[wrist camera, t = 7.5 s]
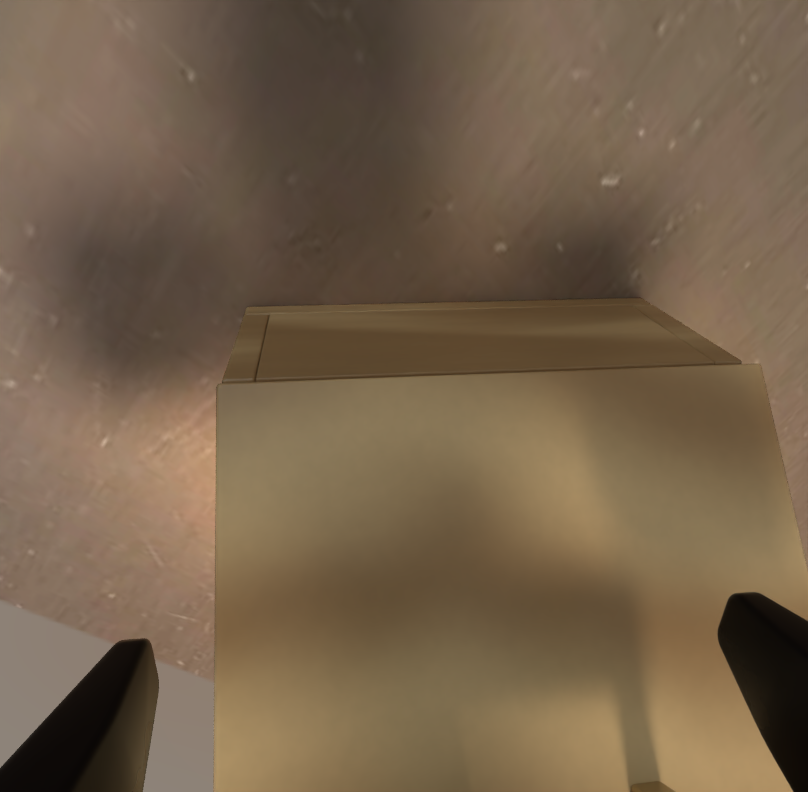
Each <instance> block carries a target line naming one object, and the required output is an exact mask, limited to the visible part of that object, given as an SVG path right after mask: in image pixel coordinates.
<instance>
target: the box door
mask: <svg viewBox="0 0 808 792" xmlns="http://www.w3.org/2000/svg"><path fill="white" fill-rule="evenodd" d="M744 592H758V593H760V594H762V595H764V596H766V597H768V598H769V599H771V600H773V601H774V602H776V603H778V604H780V605H781V606H783V607H785V608H786V609H788V610H790V611H792V612H793V613H795V614H797V615H799V616H800V617H802V618H804V619H805V620H807V621H808V569H807V565H806V560H805V556H804V551H803V547H802V543H801V538H800V534H799V530H798V525H797V521H796V516H795V512H794V508H793V503H792V499H791V495H790V490H789V486H788V481H787V477H786V473H785V468H784V464H783V460H782V455H781V451H780V446H779V442H778V438H777V433H776V429H775V425H774V420H773V416H772V411H771V407H770V403H769V398H768V394H767V390H766V385H765V381H764V376H763V372H762V368H761V365H760V364H734V365H707V366H680V367H653V368H626V369H599V370H572V371H545V372H518V373H491V374H464V375H437V376H411V377H384V378H357V379H330V380H303V381H276V382H249V383H222V384H218V385H217V394H216V522H215V651H214V780H213V783H214V784H213V785H214V786H213V789H214V790H213V792H793V791H792V789H791V787H790V785H789V784H788V782H787V780H786V778H785V777H784V775H783V773H782V771H781V770H780V768H779V766H778V764H777V763H776V761H775V759H774V758H773V756H772V754H771V752H770V750H769V748H768V747H767V745H766V743H765V741H764V739H763V737H762V735H761V733H760V731H759V729H758V727H757V725H756V723H755V721H754V719H753V717H752V715H751V712H750V710H749V708H748V706H747V704H746V702H745V699H744V697H743V695H742V693H741V691H740V689H739V686H738V684H737V682H736V680H735V678H734V676H733V673H732V671H731V669H730V667H729V665H728V663H727V660H726V658H725V656H724V654H723V652H722V650H721V647H720V645H719V641H718V635H717V632H718V627H719V624H720V621H721V618H722V615H723V612H724V609H725V606H726V603H727V600H728V598H729V597H730V596H731V595H732V594H734V593H744Z"/></svg>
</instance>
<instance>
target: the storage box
mask: <svg viewBox="0 0 808 792" xmlns="http://www.w3.org/2000/svg"><path fill="white" fill-rule="evenodd" d="M734 364H741V360H739V359H738V358H736V357H734V356H733V355H731V354H730V353H728V352H727V351H725V350H723V349H722V348H720V347H719V346H717V345H715V344H714V343H712V342H711V341H709V340H708V339H706V338H704V337H703V336H701V335H700V334H698V333H696V332H695V331H693V330H692V329H690V328H689V327H687V326H685V325H684V324H682V323H681V322H679V321H677V320H676V319H674V318H673V317H671V316H669V315H668V314H666V313H665V312H663V311H662V310H660V309H658V308H657V307H655V306H654V305H651V304H650V303H648V302H647V301H645V300H644V299H642V298H615V299H571V300H527V301H484V302H440V303H396V304H352V305H308V306H264V307H247V308H246V311H245V314H244V317H243V320H242V323H241V326H240V329H239V332H238V335H237V338H236V341H235V344H234V347H233V350H232V353H231V356H230V359H229V362H228V365H227V368H226V371H225V374H224V377H223V380H222V383H249V382H276V381H303V380H330V379H357V378H384V377H411V376H437V375H464V374H491V373H518V372H545V371H572V370H599V369H626V368H653V367H680V366H707V365H734Z"/></svg>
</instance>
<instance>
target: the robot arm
mask: <svg viewBox="0 0 808 792" xmlns="http://www.w3.org/2000/svg"><path fill="white" fill-rule="evenodd" d="M717 635H718V641H719V645H720V647H721V650H722V652H723V654H724V656H725V658H726V660H727V663H728V665H729V667H730V669H731V671H732V673H733V676H734V678H735V680H736V682H737V684H738V686H739V689H740V691H741V693H742V695H743V697H744V699H745V702H746V704H747V706H748V708H749V710H750V712H751V715H752V717H753V719H754V721H755V723H756V725H757V727H758V729H759V731H760V733H761V735H762V737H763V739H764V741H765V743H766V745H767V747H768V748H769V750H770V752H771V754H772V756H773V758H774V759H775V761H776V763H777V764H778V766H779V768H780V770H781V771H782V773H783V775H784V777H785V778H786V780H787V782H788V784H789V785H790V787H791V789H792V791H793V792H808V621H807V620H805V619H804V618H802V617H800V616H799V615H797V614H795V613H793V612H792V611H790V610H788V609H786V608H785V607H783V606H781V605H780V604H778V603H776V602H774V601H773V600H771V599H769V598H768V597H766V596H764V595H762V594H760V593H758V592H744V593H734V594H732V595H731V596H730V597H729V598H728V600H727V603H726V606H725V609H724V612H723V615H722V618H721V621H720V624H719V627H718V632H717ZM158 691H159V679H158V673H157V668H156V664H155V659H154V654H153V650H152V645H151V643H150V641H149V640H148V639H145V638H142V639H129V640H121V641H119V642H117V643H116V644H115V645H114V646H113V647H112V648H111V649H110V650H109V651H108V652H107V653H106V654H105V656H104V657H103V658H102V659H101V660H100V661H99V662H98V663H97V664H96V665H95V666H94V667H93V669H92V670H91V671H90V672H89V673H88V674H87V675H86V676H85V677H84V678H83V679H82V680H81V681H80V683H79V684H78V685H77V686H76V687H75V688H74V689H73V690H72V691H71V692H70V693H69V694H68V695H67V697H66V698H65V699H64V700H63V701H62V702H61V703H60V704H59V705H58V706H57V707H56V708H55V709H54V711H53V712H52V713H51V714H50V715H49V716H48V717H47V718H46V719H45V720H44V721H43V723H42V724H41V725H40V726H39V727H38V728H37V729H36V730H35V731H34V732H33V733H32V734H31V735H30V736H29V738H28V739H27V740H26V741H25V742H24V743H23V744H22V745H21V746H20V747H19V748H18V749H17V751H16V752H15V753H14V754H13V755H12V756H11V757H10V758H9V759H8V760H7V761H6V762H5V764H4V765H3V766H2V767H1V768H0V792H143V787H144V780H145V774H146V768H147V761H148V755H149V749H150V743H151V736H152V730H153V724H154V717H155V711H156V704H157V698H158Z"/></svg>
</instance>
